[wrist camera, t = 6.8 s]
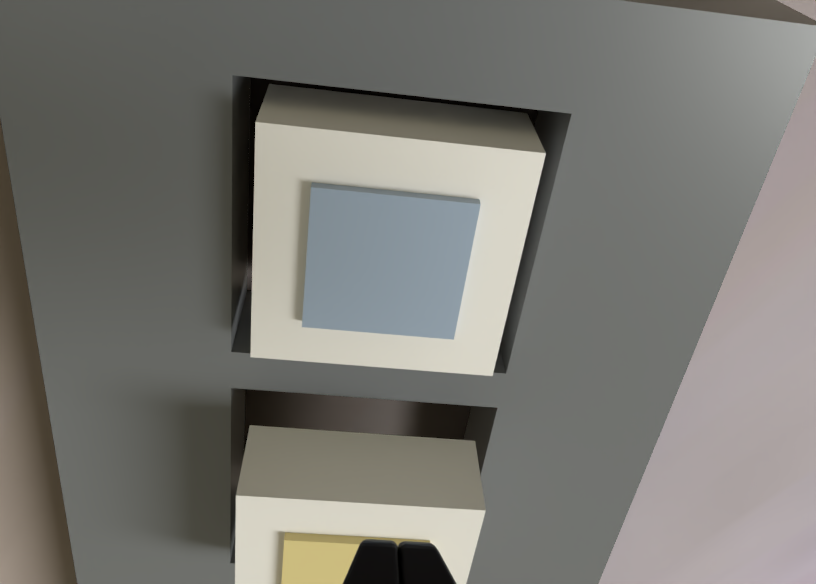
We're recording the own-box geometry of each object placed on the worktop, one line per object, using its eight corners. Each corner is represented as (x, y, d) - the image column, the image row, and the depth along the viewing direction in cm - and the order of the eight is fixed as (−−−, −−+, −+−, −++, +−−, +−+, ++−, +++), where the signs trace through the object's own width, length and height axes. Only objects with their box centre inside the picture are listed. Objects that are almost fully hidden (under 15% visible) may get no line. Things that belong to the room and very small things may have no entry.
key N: (527, 113, 15) (548, 158, 13) (481, 320, 18) (494, 382, 16) (269, 83, 15) (253, 126, 13) (262, 302, 17) (249, 363, 15)
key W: (474, 440, 17) (486, 518, 15) (441, 581, 20) (447, 661, 18) (249, 424, 17) (234, 503, 15) (246, 571, 19) (232, 653, 18)
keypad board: (767, -5, 15) (827, 27, 13) (518, 681, 28) (529, 750, 26) (26, -102, 14) (-33, -85, 12) (123, 666, 27) (102, 737, 25)
